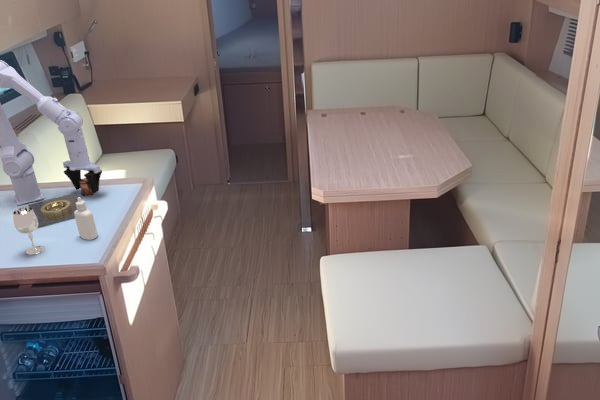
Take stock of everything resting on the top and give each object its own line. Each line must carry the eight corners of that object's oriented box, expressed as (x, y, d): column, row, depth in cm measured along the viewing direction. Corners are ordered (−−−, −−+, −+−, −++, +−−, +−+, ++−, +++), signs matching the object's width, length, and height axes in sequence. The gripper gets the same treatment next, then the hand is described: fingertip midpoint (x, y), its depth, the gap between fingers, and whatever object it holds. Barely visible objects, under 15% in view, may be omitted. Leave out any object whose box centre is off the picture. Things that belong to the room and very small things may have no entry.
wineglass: (21, 257, 147) (8, 217, 142) (25, 247, 152) (12, 208, 147) (45, 253, 148) (32, 213, 143) (47, 243, 153) (36, 204, 148)
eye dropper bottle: (95, 230, 159) (85, 192, 153) (99, 238, 154) (89, 199, 149) (79, 234, 157) (68, 196, 152) (82, 242, 152) (72, 203, 147)
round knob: (81, 193, 183) (78, 179, 181) (92, 190, 185) (89, 177, 183) (83, 197, 180) (80, 183, 178) (95, 194, 182) (91, 180, 180)
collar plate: (28, 206, 176) (26, 200, 175) (74, 195, 182) (72, 188, 181) (36, 228, 162) (34, 221, 161) (85, 215, 168) (83, 207, 167)
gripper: (51, 152, 176) (62, 191, 182) (84, 158, 170) (94, 198, 176) (69, 145, 182) (78, 183, 188) (101, 150, 175) (110, 189, 181)
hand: (87, 190), depth 182 cm, fingers open, 7 cm apart
